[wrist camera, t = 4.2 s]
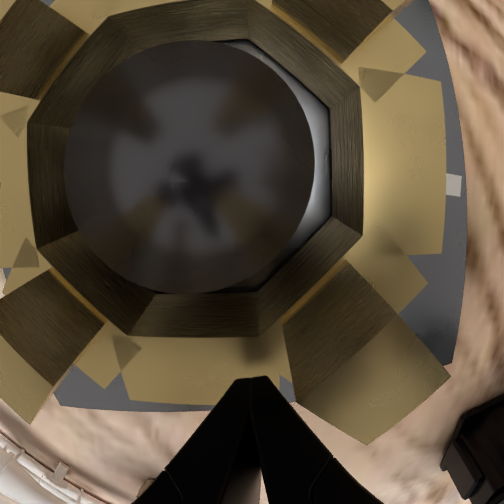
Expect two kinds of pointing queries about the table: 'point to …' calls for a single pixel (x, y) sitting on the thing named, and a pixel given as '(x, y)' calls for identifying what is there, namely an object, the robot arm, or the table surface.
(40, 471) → the white tapered multi-tube piece
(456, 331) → the cap plate
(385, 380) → the octagonal socket base
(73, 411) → the table surface
